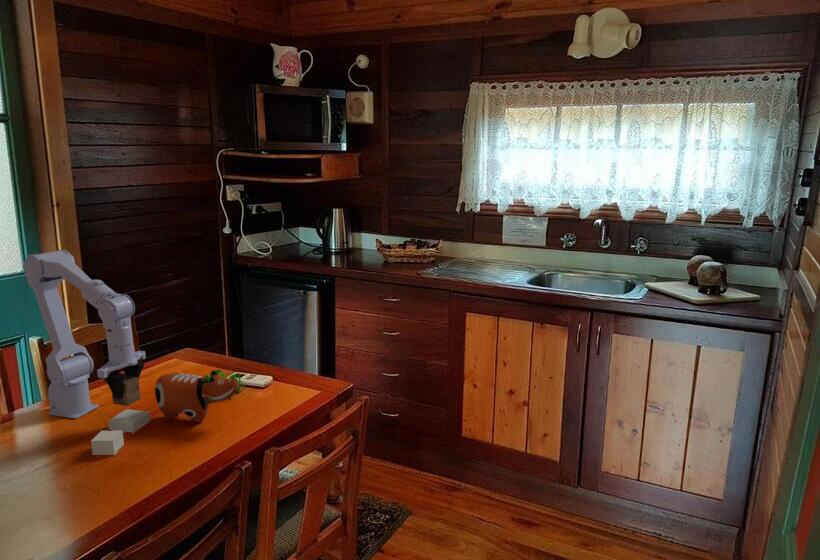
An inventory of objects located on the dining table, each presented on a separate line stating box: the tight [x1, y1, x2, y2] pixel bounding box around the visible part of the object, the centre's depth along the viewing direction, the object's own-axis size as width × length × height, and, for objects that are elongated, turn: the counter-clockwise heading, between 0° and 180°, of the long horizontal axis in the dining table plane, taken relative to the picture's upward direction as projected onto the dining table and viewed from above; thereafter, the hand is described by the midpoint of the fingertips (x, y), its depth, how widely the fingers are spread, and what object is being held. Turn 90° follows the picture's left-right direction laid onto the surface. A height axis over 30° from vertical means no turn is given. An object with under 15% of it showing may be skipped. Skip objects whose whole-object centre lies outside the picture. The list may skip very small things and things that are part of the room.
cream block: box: [90, 430, 125, 456], centre depth 138 cm, size 5×5×4 cm
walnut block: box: [111, 376, 141, 407], centre depth 149 cm, size 4×4×6 cm
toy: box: [154, 369, 239, 423], centre depth 152 cm, size 10×23×15 cm, turn 78°
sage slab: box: [107, 408, 151, 434], centre depth 151 cm, size 7×7×3 cm
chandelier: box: [203, 369, 245, 403], centre depth 171 cm, size 15×15×7 cm
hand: (125, 394), depth 149 cm, fingers closed on walnut block, 4 cm apart
